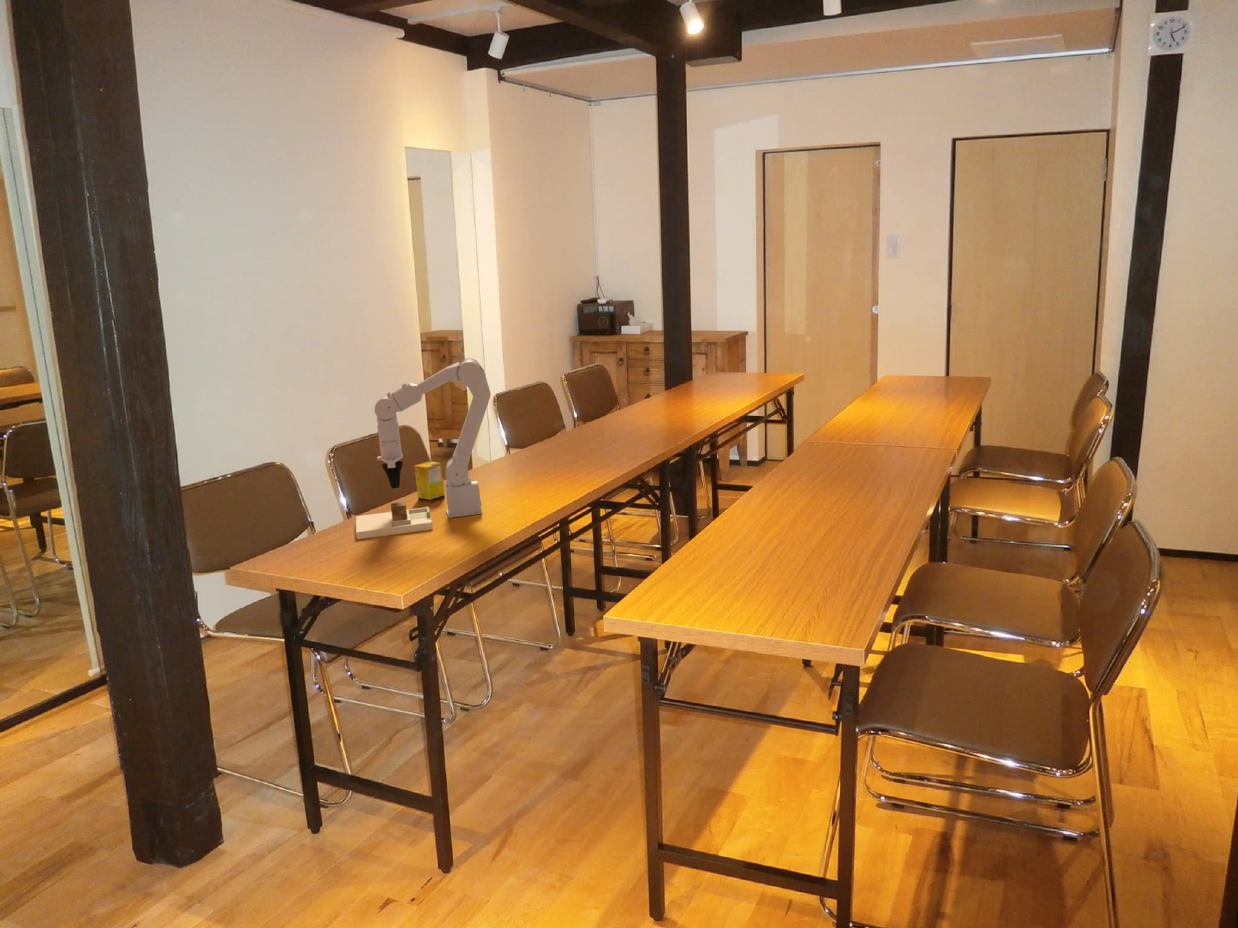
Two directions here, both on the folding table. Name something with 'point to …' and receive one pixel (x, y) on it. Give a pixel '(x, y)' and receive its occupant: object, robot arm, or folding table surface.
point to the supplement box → (429, 481)
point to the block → (399, 511)
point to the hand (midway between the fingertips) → (395, 487)
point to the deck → (392, 523)
